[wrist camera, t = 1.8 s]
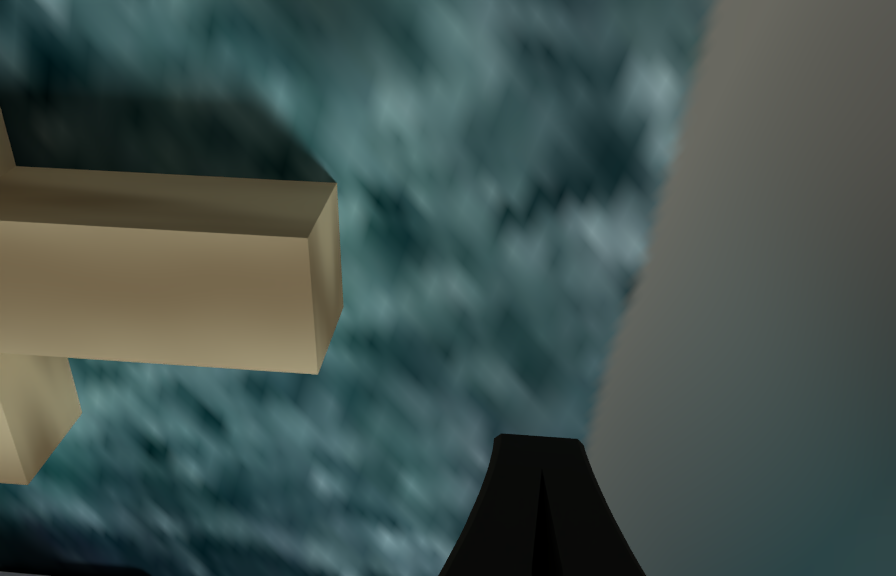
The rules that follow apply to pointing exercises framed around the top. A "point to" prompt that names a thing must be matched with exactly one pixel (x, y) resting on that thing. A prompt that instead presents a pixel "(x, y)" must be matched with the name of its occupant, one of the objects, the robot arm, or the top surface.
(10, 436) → the maple t block
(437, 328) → the top surface
